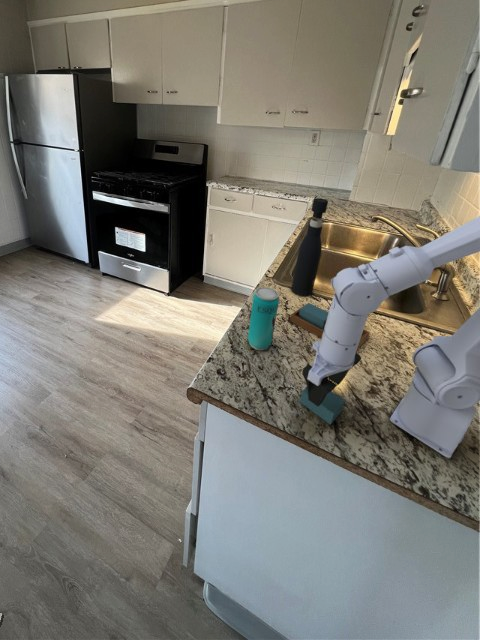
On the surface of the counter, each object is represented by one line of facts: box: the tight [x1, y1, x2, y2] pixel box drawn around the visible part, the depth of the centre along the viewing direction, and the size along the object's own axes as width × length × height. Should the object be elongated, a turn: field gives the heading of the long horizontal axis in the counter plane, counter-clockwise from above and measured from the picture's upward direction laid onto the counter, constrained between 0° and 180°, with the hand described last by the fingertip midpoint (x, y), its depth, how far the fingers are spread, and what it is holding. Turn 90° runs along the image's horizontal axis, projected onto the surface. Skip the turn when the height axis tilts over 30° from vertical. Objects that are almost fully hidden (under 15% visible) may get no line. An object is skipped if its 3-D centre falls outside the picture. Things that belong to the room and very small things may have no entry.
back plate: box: [289, 304, 371, 350], centre depth 83 cm, size 17×9×2 cm, turn 41°
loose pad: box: [299, 386, 346, 425], centre depth 61 cm, size 6×4×3 cm
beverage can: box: [247, 286, 280, 351], centre depth 74 cm, size 6×6×15 cm
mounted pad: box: [299, 302, 329, 329], centre depth 85 cm, size 7×4×3 cm, turn 41°
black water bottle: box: [291, 197, 329, 297], centre depth 94 cm, size 6×6×30 cm
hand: (324, 391), depth 60 cm, fingers open, 7 cm apart
